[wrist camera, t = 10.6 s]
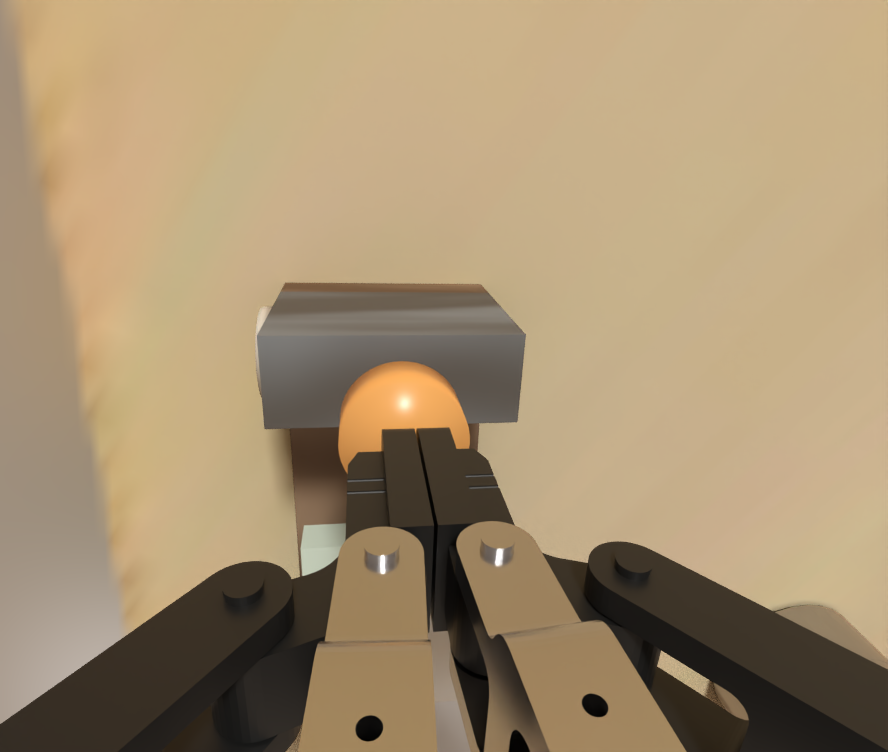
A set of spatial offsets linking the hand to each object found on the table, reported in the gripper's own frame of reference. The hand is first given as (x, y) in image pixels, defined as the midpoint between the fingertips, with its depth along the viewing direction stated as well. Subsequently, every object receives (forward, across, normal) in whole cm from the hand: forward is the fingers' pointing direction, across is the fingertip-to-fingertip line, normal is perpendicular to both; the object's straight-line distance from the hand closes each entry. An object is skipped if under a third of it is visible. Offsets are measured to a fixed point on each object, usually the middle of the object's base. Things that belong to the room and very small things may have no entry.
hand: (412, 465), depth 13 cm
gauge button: (+3, 0, 0) cm, 3 cm away
